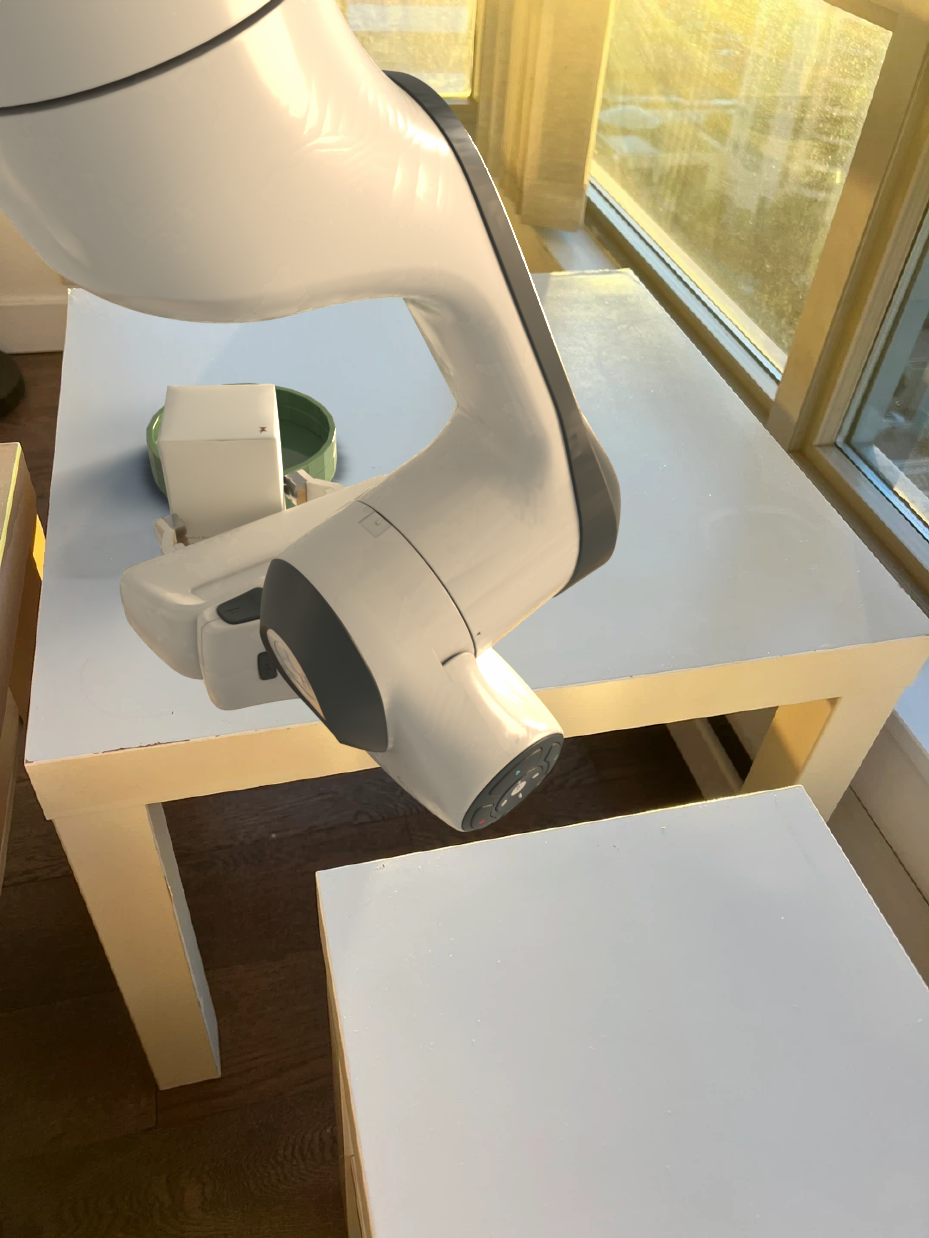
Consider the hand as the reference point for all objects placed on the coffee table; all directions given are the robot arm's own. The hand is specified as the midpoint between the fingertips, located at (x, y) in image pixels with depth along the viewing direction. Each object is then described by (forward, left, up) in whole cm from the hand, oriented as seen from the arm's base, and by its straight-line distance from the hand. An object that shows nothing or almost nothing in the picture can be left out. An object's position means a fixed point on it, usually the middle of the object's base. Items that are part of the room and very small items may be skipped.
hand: (230, 502), depth 65 cm
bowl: (+8, +24, -14) cm, 29 cm away
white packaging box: (0, +1, -7) cm, 7 cm away
